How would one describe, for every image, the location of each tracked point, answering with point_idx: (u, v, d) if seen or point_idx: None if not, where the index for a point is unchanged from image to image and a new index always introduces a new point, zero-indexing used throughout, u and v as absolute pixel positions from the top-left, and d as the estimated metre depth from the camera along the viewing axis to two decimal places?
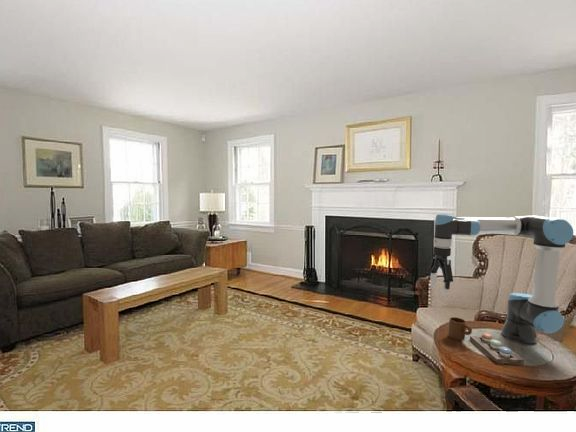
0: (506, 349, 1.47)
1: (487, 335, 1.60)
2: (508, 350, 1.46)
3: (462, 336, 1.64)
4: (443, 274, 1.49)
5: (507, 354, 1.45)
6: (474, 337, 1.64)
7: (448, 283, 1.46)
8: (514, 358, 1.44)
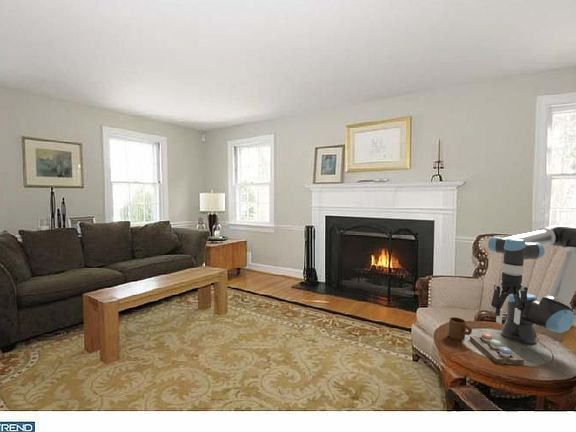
0: (506, 349, 1.47)
1: (487, 335, 1.60)
2: (508, 350, 1.46)
3: (462, 336, 1.64)
4: None
5: (507, 354, 1.45)
6: (474, 337, 1.64)
7: (496, 309, 1.45)
8: (514, 358, 1.44)
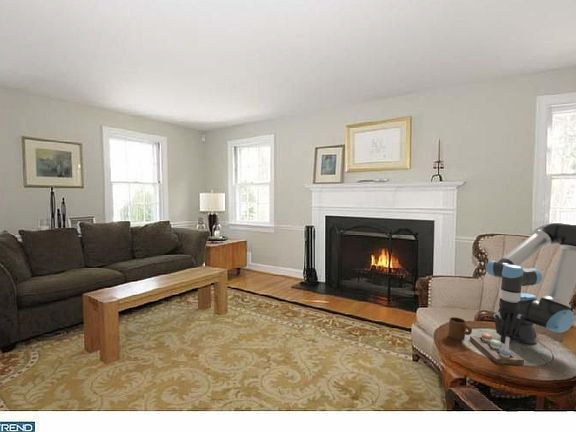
0: None
1: (487, 335, 1.60)
2: (508, 351, 1.46)
3: (462, 336, 1.64)
4: None
5: (507, 355, 1.45)
6: (474, 337, 1.64)
7: (501, 337, 1.46)
8: (514, 358, 1.44)
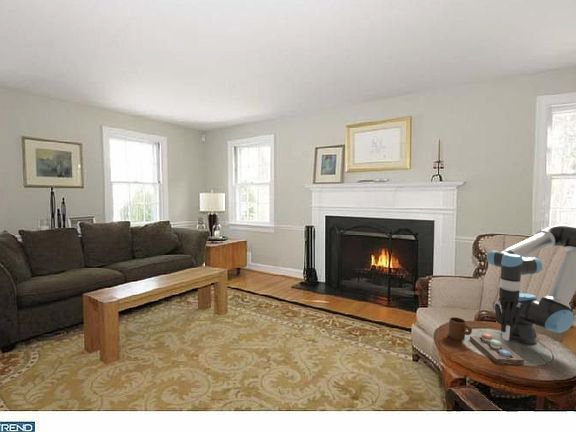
0: (506, 352, 1.47)
1: (487, 335, 1.60)
2: (508, 353, 1.46)
3: (462, 336, 1.64)
4: None
5: (507, 357, 1.45)
6: (474, 337, 1.64)
7: (502, 326, 1.47)
8: (514, 358, 1.44)
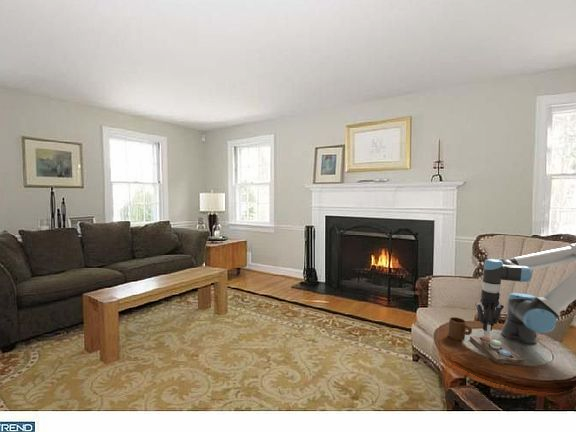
0: (506, 352, 1.47)
1: None
2: (508, 353, 1.46)
3: (462, 336, 1.64)
4: None
5: (507, 357, 1.45)
6: (474, 337, 1.64)
7: (483, 325, 1.61)
8: (514, 358, 1.44)
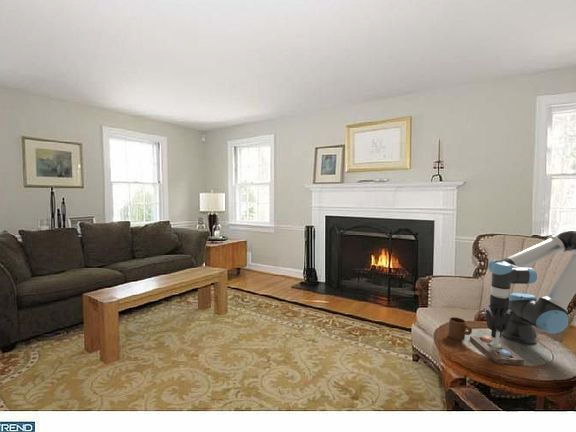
0: (506, 352, 1.47)
1: (487, 338, 1.61)
2: (508, 353, 1.46)
3: (462, 336, 1.64)
4: None
5: (507, 357, 1.45)
6: (474, 337, 1.64)
7: (492, 331, 1.54)
8: (514, 358, 1.44)
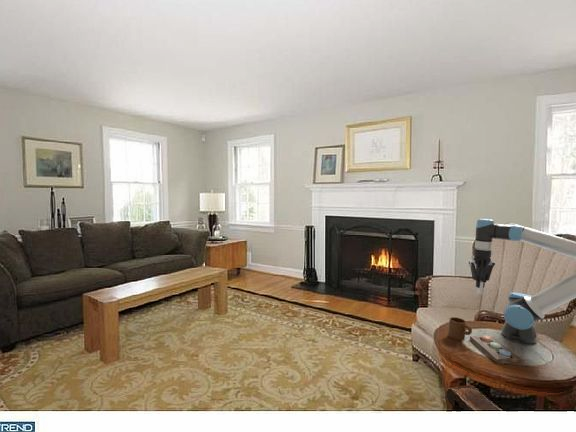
0: (506, 352, 1.47)
1: (487, 338, 1.61)
2: (508, 353, 1.46)
3: (462, 336, 1.64)
4: None
5: (507, 357, 1.45)
6: (474, 337, 1.64)
7: (476, 282, 1.68)
8: (514, 358, 1.44)
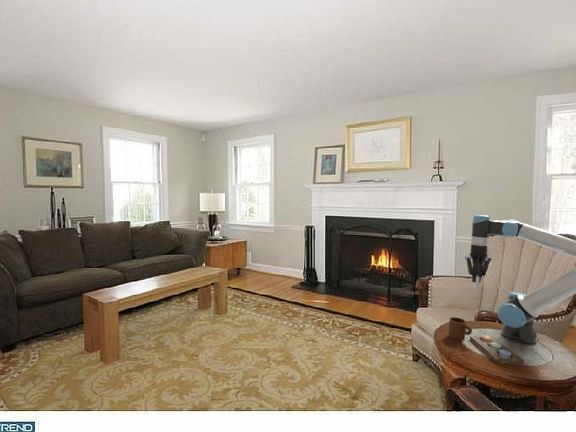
0: (506, 352, 1.47)
1: (487, 338, 1.61)
2: (508, 353, 1.46)
3: (462, 336, 1.64)
4: None
5: (507, 357, 1.45)
6: (474, 337, 1.64)
7: (473, 277, 1.72)
8: (514, 358, 1.44)
